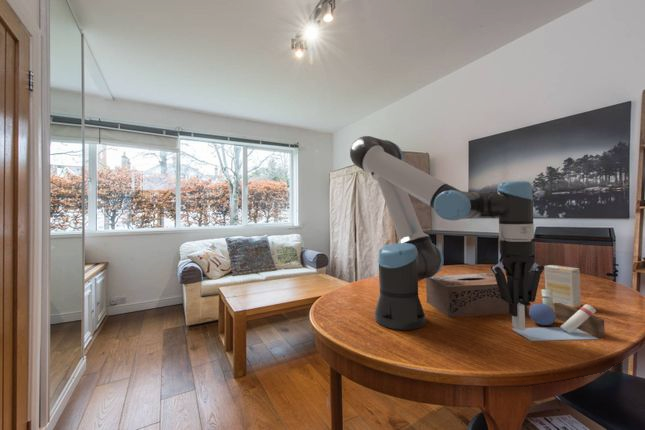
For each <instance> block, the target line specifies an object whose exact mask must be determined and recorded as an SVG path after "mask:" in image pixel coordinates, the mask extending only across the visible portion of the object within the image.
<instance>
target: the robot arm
mask: <svg viewBox="0 0 645 430" xmlns="http://www.w3.org/2000/svg"><path fill="white" fill-rule="evenodd" d="M349 157H350V160H351V161H352V163H353V164H354V165H355V166H356V167H358V168H359V169H361V170H362V171H364V172H367V173H370V175H371V178H372V179H373V180H375V181H376V182H378V185H379V189H380V190H381V193H382V196H383V198H384V202H385V204H386V207H387V210H388V213H389V216H390V219H391V222H392V224H393V227H394V230H395V232H396V235H397V237H398V242H397V243H391V244H386V245H385V246H384V245H383V246H382V247H381V248H380V249H379V251H378V259H377V262H378V277H379V278H378V280H379V282H378V283H379V297H378V300H377V302H376V306H375V310H374V320H375V322H376V323H378V325H380V326H382V327H384V328H389V329H392V330H398V331H411V330H416V329H420V328H422V327H424V326H425V324H426V314H425V311H424V308H423V305H422V303H421V300H420V296H419V282H420V281H422V280H426V278H430V277H432V276H436V275H437V274H438V273H439V272H441V270H442V268H443V264H444V255H443V253H442V250H441V249H440V248H439V246H437V245H435V244H434V243H432V239H431V237H430V235H429V234H427V233H425V232H424V231H423V229H422V227H421V224H420V221H419V219H418V216H417V213H416V210H415V208H414V206H413V203H412V201H411V198H410V196H412V197H414V198H416V199H417V200H419V201H420V202H422V203H424V204H426V205H427V206H429V207H430V208H433V209H434V211H435V213H436V215H437V216H438V217H440V218H441V219H443V220H447V221H459V220H466V219H486V218H492V219H494V218H496V219H498V237H499V239H500V241H499V243H498V244H499V245H498V246H499V254H500V258H499V260H498V263H497V264H496V265H490V270H491V271H492V273H494V274H495V278H496V281H497V285H498V289H499V292H500V296H501V299H502V300H504V301H506V302H508V303H509V313H508V314H509V315H510V316H511V326H512V328H517V329H518V330H525V328H526V317H527V316H528V306H529V307H530V306H531V303H535V301H536V297H537V293H538V287H539V283H540V278H541V276H542V273H543V271H545V269H544V265H540V264H538V263H536V261H535V259H534V255H535V242H534V241H533V239H535V233H534V230H535V229H534V197H533V196H534V195H533V188H532V187H533V186H532V183H531V182H529V181H525V180H521V181H519V180H518V181H517V180H516V181H506V182H501V183H500V182H499V183H498V185H497V189H496V190H493V191H473V192H472V191H462V190H460V189H458V188H456V187H454V186H453V185H450V184H448V183H447V182H444V181H442V180H440V179H438V178H437V177H435V176H432V175H431V174H428V173H427V172H425V171H423V170H421V169H419V168H417V167H415V166H413V165H411V164H409V163H407V162H406V161H403V152H402V149H401V148H400V146H399V145H398V144H397V143H394V141H391V140H387V139H381V138H377V137H374V136H371V135H363V136H360V137H359V138H357V139H355V140H354V141H353V143H352V144H351V147H350V149H349ZM409 195H410V196H409ZM504 272H505V273H504ZM505 277H507V281H506V278H505ZM518 301H519V302H518Z"/></svg>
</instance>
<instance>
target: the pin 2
mask: <svg viewBox="0 0 645 430" xmlns="http://www.w3.org/2000/svg"><path fill="white" fill-rule="evenodd" d="M596 312H597V310H596V308H594V307H593V306H592V305H589V304H587V303H586V304H584V305H582V306H581V307H579V308H578V311H577V312H576V313H575V314H574V315H573V316H572V317H570V318H569V319H568V320H567V321H566V322H563V323H562V324H561V325H559V327H561V328H562V329H563V330H564V331H565V332H567V333H569V334H571V333H572V332H573V331H574V330H575V329H579V328H578V327H579V326H580V325H581V324H582V323H583V322H584V321H586V320H587V319H588V318H589V317H590V316H592V315H593V314H595V313H596ZM593 316H594V315H593Z"/></svg>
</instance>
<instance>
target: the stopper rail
mask: <svg viewBox="0 0 645 430" xmlns="http://www.w3.org/2000/svg"><path fill="white" fill-rule="evenodd" d="M578 310H579V308H576V309H575V308H572V307H570V306H567V305H564V304H562V303H555V304H554V312H555V314H556V319H557V320H559V321H563V323H565V322H566V321H567V320H568V319H569V318H570V317H572V316H573V315H574V314H575V313H576V312H577V311H578ZM605 327H606V326H605V319H603V318H601V317H598V316H595V315H592V316H590V317H589V318H588V319H587V320H586V321H584V322H583V323H582V324H581V325H580V326H579V327H578V328H577V329H579V330H581V331H583V332H585V333H587V334H590V335H592V336H594V337H596V338H605V337H606V336H605V335H606V333H605V332H606V331H605Z"/></svg>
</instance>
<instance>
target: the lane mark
mask: <svg viewBox="0 0 645 430" xmlns="http://www.w3.org/2000/svg"><path fill="white" fill-rule="evenodd" d="M511 330H513V332H515V333H517V334H518V335H520V336H522V337H524V338H525V339H527V340H528V341H530V342H543V341H545V342H547V341H549V342H550V341H578V340H579V341H580V340H582V341H583V340H584V341H585V340H599V337H597V336H595V335H593V334H590V333H588V332H586V331H584V330H582V329H580V328H576V329H575V330H574V331H573V332H572V333H571V334H569V333H567V332H565V331H564V330H563V329H562V328H561V327H560V326H554V327H553V326H550V327H544V326H543V327H525V330H518V329H517V328H515V327H511Z"/></svg>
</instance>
